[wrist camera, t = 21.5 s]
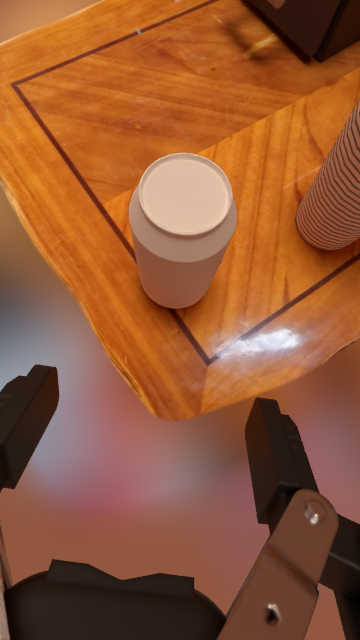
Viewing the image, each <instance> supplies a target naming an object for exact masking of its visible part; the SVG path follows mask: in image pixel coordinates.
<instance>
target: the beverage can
mask: <svg viewBox="0 0 360 640" xmlns="http://www.w3.org/2000/svg"><path fill="white" fill-rule="evenodd" d="M129 220H130V226H131V232H132V237H133V243H134V249H135V254H136V260H137V265H138V271H139V276H140V280H141V284H142V287H143V289H144V291H145V292H146V294H147V295H148V296H149V297H150V298H151V299H152V300H153V301H154V302H156V303H157V304H159V305H161V306H164V307H167V308H175V309H178V308H185V307H188V306H191V305H193V304H195V303H196V302H198V301H199V300H200V299H201V298H202V297H203V296H204V295H205V293H206V292H207V290H208V288H209V286H210V284H211V282H212V280H213V278H214V276H215V273H216V271H217V269H218V267H219V264H220V262H221V260H222V258H223V255H224V253H225V251H226V249H227V247H228V244H229V242H230V240H231V238H232V235H233V233H234V230H235V227H236V222H237V211H236V205H235V202H234V199H233V197H232V188H231V184H230V182H229V179H228V177H227V176H226V174H225V173H224V172H223V170H222V169H221V168H220V167H219V166H218V165H217V164H215V163H214V162H212V161H211V160H209V159H207V158H205V157H203V156H200V155H196V154H192V153H175V154H170V155H167V156H164V157H162V158H160V159H158V160H156V161H155V162H153V163H152V164H151V165H150V166H149V167H148V168H147V169H146V171H145V172H144V174H143V175H142V177H141V180H140V183H139V185H138V186H137V188H136V189H135V191H134V193H133V195H132V197H131V200H130V205H129Z"/></svg>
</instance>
